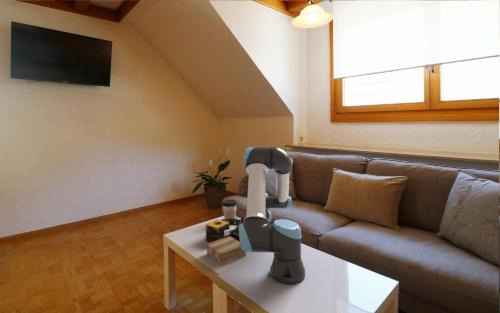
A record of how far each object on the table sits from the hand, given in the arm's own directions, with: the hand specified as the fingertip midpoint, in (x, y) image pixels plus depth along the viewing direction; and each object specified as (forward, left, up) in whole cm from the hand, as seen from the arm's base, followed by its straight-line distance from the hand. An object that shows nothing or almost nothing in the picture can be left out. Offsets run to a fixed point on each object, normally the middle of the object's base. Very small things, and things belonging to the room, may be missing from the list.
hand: (218, 229), depth 153 cm
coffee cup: (+16, -17, -6) cm, 25 cm away
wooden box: (-19, +6, -6) cm, 20 cm away
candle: (-1, +1, -6) cm, 6 cm away
